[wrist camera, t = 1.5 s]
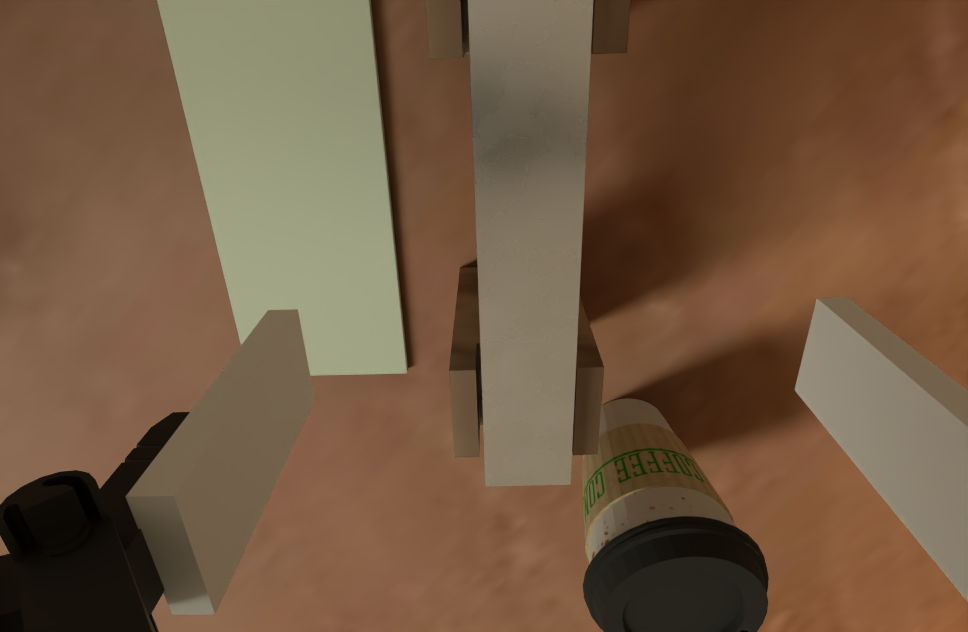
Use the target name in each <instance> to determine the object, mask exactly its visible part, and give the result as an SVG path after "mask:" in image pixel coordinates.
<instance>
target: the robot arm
mask: <svg viewBox="0 0 968 632" xmlns="http://www.w3.org/2000/svg"><path fill="white" fill-rule="evenodd" d="M795 391H796V393H797V394H798V395H799V396H800V398H801V399H802V400H803V401H804V402H805V404H806V405H807V406H808V407H809V409H810V410H811V411H812V412H813V413H814V415H815V416H816V417H817V418H818V420H819V421H820V422H821V423H822V424H823V426H824V427H825V428H826V429H827V431H828V432H829V433H830V434H831V435H832V437H833V438H834V439H835V440H836V442H837V443H838V444H839V445H840V446H841V448H842V449H843V450H844V451H845V453H846V454H847V455H848V456H849V457H850V459H851V460H852V461H853V462H854V464H855V465H856V466H857V467H858V469H859V470H860V471H861V472H862V473H863V475H864V476H865V477H866V478H867V480H868V481H869V482H870V483H871V484H872V486H873V487H874V488H875V489H876V491H877V492H878V493H879V494H880V495H881V497H882V498H883V499H884V500H885V502H886V503H887V504H888V505H889V506H890V508H891V509H892V510H893V511H894V513H895V514H896V515H897V516H898V517H899V519H900V520H901V521H902V522H903V524H904V525H905V526H906V527H907V528H908V530H909V531H910V532H911V533H912V535H913V536H914V537H915V538H916V539H917V541H918V542H919V543H920V544H921V546H922V547H923V548H924V549H925V550H926V552H927V553H928V554H929V555H930V557H931V558H932V559H933V560H934V561H935V563H936V564H937V565H938V566H939V568H940V569H941V570H942V571H943V572H944V574H945V575H946V576H947V577H948V579H949V580H950V581H951V582H952V583H953V585H954V586H955V587H956V588H957V590H958V591H959V592H960V593H961V594H962V596H963V597H964V598H965V599H966V601H967V602H968V391H967V390H966V389H965V388H963V387H962V386H961V385H959V384H958V383H957V382H956V381H954V380H953V379H952V378H951V377H949V376H948V375H947V374H945V373H944V372H943V371H942V370H940V369H939V368H938V367H936V366H935V365H934V364H933V363H931V362H930V361H929V360H927V359H926V358H925V357H924V356H922V355H921V354H920V353H918V352H917V351H916V350H915V349H913V348H912V347H911V346H910V345H908V344H907V343H906V342H904V341H903V340H902V339H901V338H899V337H898V336H897V335H895V334H894V333H893V332H892V331H890V330H889V329H888V328H886V327H885V326H884V325H883V324H881V323H880V322H879V321H877V320H876V319H875V318H874V317H872V316H871V315H870V314H868V313H867V312H866V311H865V310H863V309H862V308H861V307H860V306H858V305H857V304H856V303H854V302H853V301H852V300H851V299H849V298H848V297H843V298H817V300H816V304H815V308H814V312H813V316H812V320H811V324H810V328H809V333H808V337H807V341H806V345H805V349H804V353H803V357H802V361H801V365H800V369H799V373H798V377H797V382H796V386H795ZM314 399H315V398H314V393H313V387H312V382H311V377H310V371H309V366H308V361H307V356H306V350H305V345H304V340H303V334H302V329H301V324H300V318H299V313H298V309H293V310H268V311H267V312H266V313H265V315H264V316H263V317H262V319H261V320H260V321H259V323H258V324H257V325H256V327H255V328H254V329H253V330H252V332H251V333H250V334H249V336H248V337H247V338H246V340H245V341H244V342H243V344H242V345H241V346H240V348H239V349H238V350H237V351H236V353H235V354H234V355H233V357H232V358H231V359H230V361H229V362H228V363H227V365H226V366H225V367H224V368H223V370H222V371H221V372H220V374H219V375H218V376H217V378H216V379H215V380H214V382H213V383H212V384H211V385H210V387H209V388H208V389H207V391H206V392H205V393H204V395H203V396H202V397H201V399H200V400H199V401H198V402H197V404H196V405H195V406H194V408H193V409H192V410H191V412H173V413H172V414H170V415H169V416H167V417H166V418H164V419H163V420H161V421H160V422H159V423H157V424H156V425H154V426H153V427H151V428H150V429H149V431H148V432H147V433H146V434H145V435H144V437H143V438H142V439H141V440H140V442H139V443H138V444H137V448H134V449H133V450H132V451H131V452H130V454H129V455H128V456H127V457H126V458H125V462H124V463H121V464H120V466H119V467H118V468H117V469H116V470H115V472H114V473H113V474H112V475H111V476H110V478H109V479H108V480H107V481H106V482H105V484H104V485H103V486H102V487H101V488H100V490H99V487H98V485H97V482H96V480H95V479H94V478H93V477H92V476H91V475H90V474H89V473H86V472H82V471H77V470H75V471H64V472H58V473H54V474H51V475H47V476H44V477H41V478H39V479H37V480H35V481H33V482H30V483H28V484H26V485H24V486H22V487H21V488H19V489H18V490H17V491H15V492H14V493H12V494H11V495H10V496H8V497H7V498H6V499H5V500H4V501H3V502H2V504H1V505H0V536H1V538H2V540H3V541H4V543H5V545H6V547H7V549H8V551H9V552H10V554H7V555H3V556H0V632H159V631H158V629H157V626H156V623H155V621H154V619H153V616H152V614H151V613H152V611H153V610H154V608H155V606H156V604H157V603H158V601H159V599H160V597H161V596H162V594H163V593H164V595H165V598H166V600H167V603H168V605H169V608H170V610H171V613H172V615H197V614H215V613H216V611H217V609H218V607H219V605H220V602H221V600H222V598H223V596H224V594H225V592H226V590H227V587H228V585H229V583H230V581H231V579H232V577H233V574H234V572H235V570H236V568H237V566H238V564H239V561H240V559H241V557H242V555H243V553H244V551H245V548H246V546H247V544H248V542H249V540H250V538H251V536H252V533H253V531H254V529H255V527H256V525H257V523H258V520H259V518H260V516H261V514H262V512H263V510H264V507H265V505H266V503H267V501H268V499H269V497H270V494H271V492H272V490H273V488H274V486H275V484H276V481H277V479H278V477H279V475H280V473H281V471H282V469H283V466H284V464H285V462H286V460H287V458H288V456H289V453H290V451H291V449H292V447H293V445H294V443H295V440H296V438H297V436H298V434H299V432H300V430H301V427H302V425H303V423H304V421H305V419H306V417H307V415H308V412H309V410H310V408H311V406H312V404H313V402H314Z"/></svg>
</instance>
